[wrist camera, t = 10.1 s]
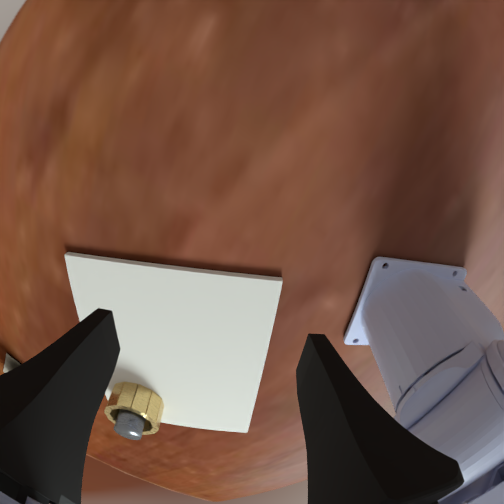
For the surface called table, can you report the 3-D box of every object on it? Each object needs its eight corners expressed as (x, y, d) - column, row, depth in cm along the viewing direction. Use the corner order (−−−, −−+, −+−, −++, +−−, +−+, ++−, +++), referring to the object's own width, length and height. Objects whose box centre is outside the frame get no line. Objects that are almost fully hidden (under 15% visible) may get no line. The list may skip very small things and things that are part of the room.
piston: (148, 393, 26) (138, 429, 22) (151, 407, 27) (143, 442, 23) (122, 388, 26) (110, 423, 22) (127, 402, 27) (117, 435, 23)
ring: (158, 386, 25) (151, 411, 22) (167, 415, 28) (162, 437, 25) (106, 378, 25) (97, 400, 22) (121, 407, 27) (114, 428, 25)
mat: (282, 277, 20) (282, 281, 19) (247, 429, 29) (247, 432, 29) (67, 251, 19) (64, 254, 19) (113, 408, 28) (112, 411, 28)
